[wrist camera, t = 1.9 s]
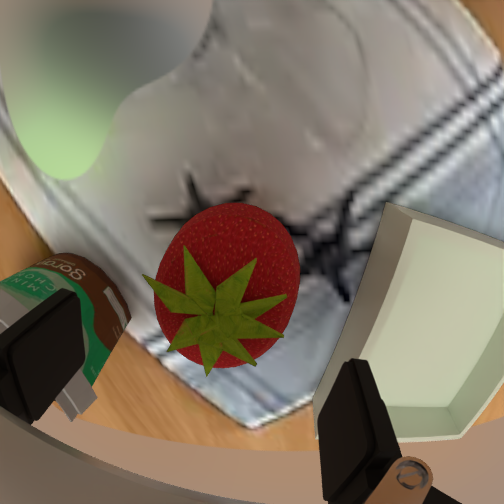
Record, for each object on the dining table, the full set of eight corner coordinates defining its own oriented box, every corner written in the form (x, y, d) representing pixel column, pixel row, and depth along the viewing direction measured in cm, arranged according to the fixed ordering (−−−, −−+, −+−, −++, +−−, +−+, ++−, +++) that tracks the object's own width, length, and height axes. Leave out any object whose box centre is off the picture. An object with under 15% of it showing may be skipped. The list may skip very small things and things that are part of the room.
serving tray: (386, 201, 16) (412, 218, 13) (528, 251, 16) (560, 272, 12) (312, 398, 22) (315, 439, 18) (446, 407, 21) (460, 438, 18)
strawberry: (178, 285, 19) (104, 396, 10) (213, 169, 17) (128, 204, 7) (266, 318, 19) (251, 450, 10) (314, 206, 17) (352, 286, 7)
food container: (133, 233, 18) (26, 311, 9) (150, 319, 20) (80, 425, 11) (11, 240, 20) (-78, 290, 10) (30, 307, 22) (-43, 371, 12)
